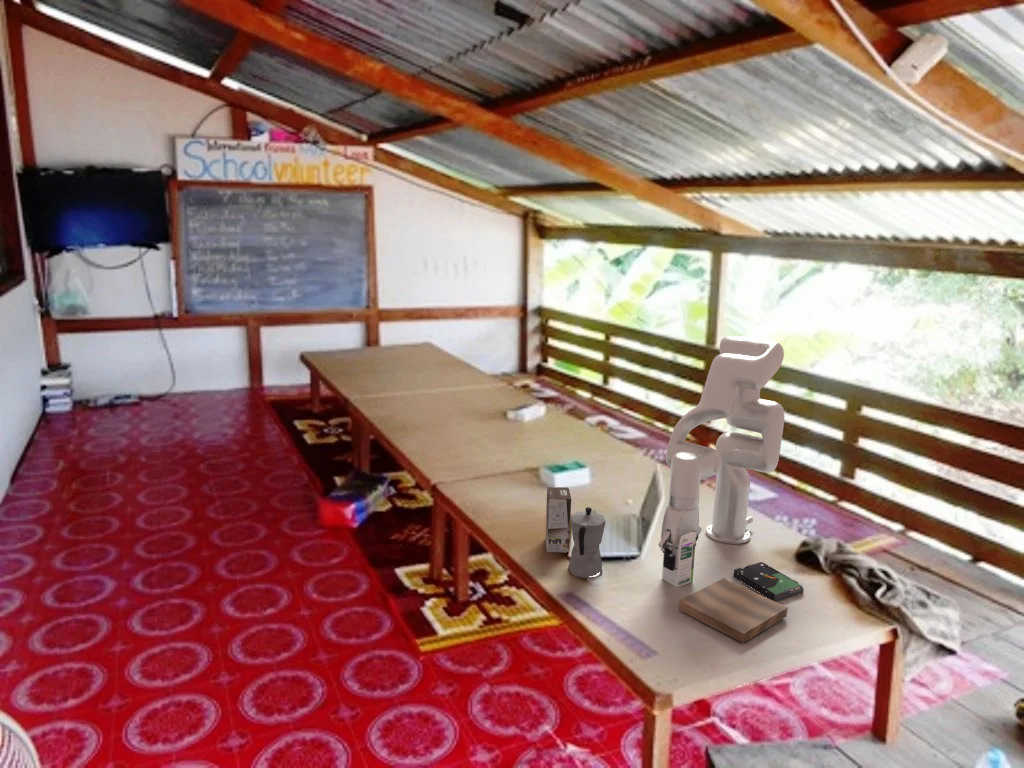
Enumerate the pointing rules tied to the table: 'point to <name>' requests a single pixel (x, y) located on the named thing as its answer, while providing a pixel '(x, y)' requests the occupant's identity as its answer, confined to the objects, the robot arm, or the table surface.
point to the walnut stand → (733, 609)
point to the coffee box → (558, 519)
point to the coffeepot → (586, 543)
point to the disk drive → (768, 581)
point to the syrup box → (682, 561)
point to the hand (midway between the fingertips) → (678, 563)
